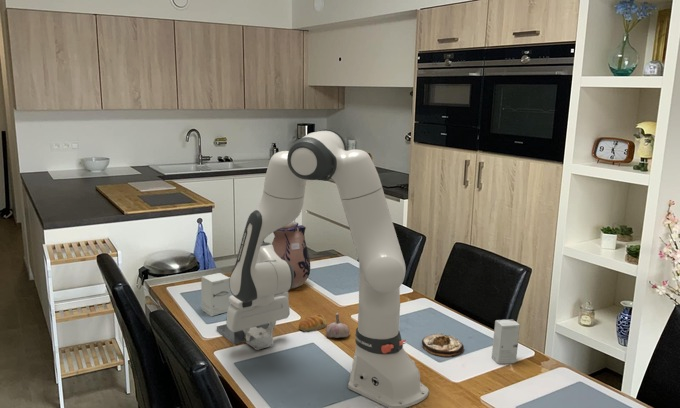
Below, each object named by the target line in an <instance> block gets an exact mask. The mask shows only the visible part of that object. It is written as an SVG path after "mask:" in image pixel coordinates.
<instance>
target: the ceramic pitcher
mask: <svg viewBox="0 0 680 408" xmlns="http://www.w3.org/2000/svg"><path fill="white" fill-rule="evenodd" d="M306 229H307V227H306V226H305V225H300V224H299V222H295V221H293V222H291V223H290V224H288V225H286V226H284V227H281V228H279V229H278V230H276V231H274V232H273V233H272V234H273V235H274V237H273V240H272V243H271V244H272V245H273V248H274V251H275V253H276V254H277V255H278V256H279V257H280V258H281V259H282V260H285V261H287V262H288V263H289V264H290V265H291V266H292V267H293V270H294V282H293V285H292V287H291V288H290V290H292V289H296V288H299V287H301V286H302V285H303V284H304V283H305V282H307V280H308V278H309V277H310V274H311V261H310V255H309V250H308V247H307V243H306V238H305V233H306ZM263 242H265V240H264V241H263ZM263 242H262V243H263Z"/></svg>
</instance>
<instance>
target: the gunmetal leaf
mask: <svg viewBox="0 0 680 408" xmlns="http://www.w3.org/2000/svg"><path fill="white" fill-rule="evenodd" d="M256 327H257V328H260V327H262V328H263V329H267V328H268V323H267V324H263V325H260V326H256ZM216 332H217V333H218V334H220V335H221V336H223V337H224V338H225V339H226V340H228V341H229V342H230V343H232V345H234V346H235V345H239V344H241V343H245V338H244V332H243V330H241V331H237V332H232V331H231V330H230V329H229V328H228V327H227V323H225V324H222V325H217V326H216Z"/></svg>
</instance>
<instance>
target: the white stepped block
mask: <svg viewBox="0 0 680 408" xmlns="http://www.w3.org/2000/svg"><path fill="white" fill-rule="evenodd" d="M248 332H249V333H250V334H251V335H253V340H252V341H249V342H248V341H247V340H246V335H245V333H244V341H245V343H247V345H249V346H251V348H253V349H255V350H256V351H258V350H261V349H264V348H265V349H266V348H268V347H271V346H273V345H274V338H273V337H274V335H273V333H272V334H271V333H270V332H268V331H266V330H265V329H263V328H262V327H260V328H257V327H252V328H250V331H248Z"/></svg>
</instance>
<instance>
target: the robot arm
mask: <svg viewBox="0 0 680 408" xmlns="http://www.w3.org/2000/svg"><path fill="white" fill-rule="evenodd" d="M266 169H267V170H266V173H265V178H264V184H263V191H262V196H261V198H260V201H259V203H258V205H257V207H256V208H255V209H254V210H253V211H252V212H251V213H250V214H249V215H248V218H247V219H246V224H245V228H244V231H243V234H242V238H241V242H240V246H239V249H238V253H237V256H236V261H235V263H234V266H233V267H232V270H231V273H230V276H229V278H230V279H229V287H230V293H231V295H230V297H229V302H230V306H229V307H228V311H227V312H226V324H227V327H228V328H229V329H230V330H231V331H232V332H237V331H241V330H243V332H244V333H245V335H246V340H247V341H248V342H249V341H252V340H253V335H251V334H250V333H249V332H248V331H250V328H252V327H256V326H260V325H263V324H267V323H270V324H269V326H268V328H267V329H265V330H266V331H268V332H270V333H271V334H273V331H274V329H275V327H276V325H277V322H278V321H282V320H285V319H288V318H289V316H290V314H291V312H290V311H291V310H290V302H289V299H290V298H289V296H290V294H289V291H291V289H290V288H291V287H292V285H293V282H294V270H293V267H292V266H291V265H290V264H289V263H288V262H287V261H285V260H282V259H281V258H280V257H279V256H278V255H277V254H276V253H275V251H274V248H273V245H272V243H270V242H265V240H266V238H268V236H270V235H271V234H274V233H273V232H274V231H276V230H278V229H279V228H281V227H284V226H286V225H288V224H290V223H291V222H295V220H296V219H297V218H298V217H299V216H300V214H301V212H302V210H303V206H304V203H305V201H304V200H305V193H306V185H307V181H323V182H324V181H325V182H327V181H329V180H333V182H334V183H335V185H336V187H337V190H338V193H339V197H340V200H341V203H342V207H343V210H344V214H345V218H346V221H347V224H348V228H349V230H350V235H351V238H352V242H353V246H354V249H355V252H356V256H357V260H358V263H359V265H358V266H359V267H358V268H359V269H358V271H359V272H358V315H357V316H358V317H357V327H356V329H355V344H356V346H355V351H354V355H353V359H352V366H351V371H350V373H349V376H348V377H349V381H348V384H347V388H348V389H349V390H351V391H353V392H354V393H357V394H359V395H361V396H363V397H366V398H367V399H369V400H371V401H373V402H376V403H378V404H380V405H382V406H385V408H386V407H387V408H410V407H412V406H415V405H417V404H418V403H421V402H423V401H424V400H425V399H426V398H428V396H429V394H430V390H429V388H428V387H427V386H426V385H425V384H423V382H421V373H420V369H419V368H418V367H417V364H416V361H415V360H414V359H411V358H410V356H409V354H408V353H407V351H406V350H405V348H403V347H404V345H405V344H406V341H407V340H406V339H403V338H402V336H401V331H400V313H401V312H400V311H401V298H400V296H401V295H400V294H401V293H400V292H401V291H400V288H401V286H402V284H403V282H404V280H405V276H406V270H407V269H406V263H405V259H404V256H403V252H402V250H401V246H400V243H399V239H398V237H397V236H398V235H397V233H396V229H395V226H394V222H393V219H392V217H391V213H390V209H389V206H388V203H387V199H386V195H385V193H384V189H383V185H382V182H381V178H380V175H379V173H378V171H377V168H376V166H375V163H374V162H373V160H372V157H371V156H370V155H369V153H368V152H366V150H363V149H348V146H347V142H346V139H345V138H344V136H343V135H342V134H341V133H339V132H338V131H336V130H333V129H330V128H329V129H327V128H325V129H324V128H323V129H321V130H318V131H314V132H310V133H307V134H306V135H304V136H302V137H301V138H299V139H297V140H295V142H294V143H292V145H291V147H290V148H289V150H282V151H277V152H275V153H273V155H272V156H271V158H270V159H269V163H268V166H267V168H266ZM263 241H264V242H263ZM262 242H263V243H262ZM246 340H245V341H246Z"/></svg>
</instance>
